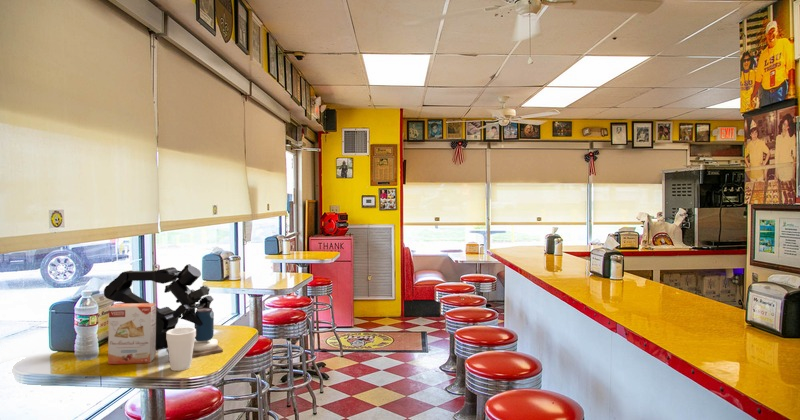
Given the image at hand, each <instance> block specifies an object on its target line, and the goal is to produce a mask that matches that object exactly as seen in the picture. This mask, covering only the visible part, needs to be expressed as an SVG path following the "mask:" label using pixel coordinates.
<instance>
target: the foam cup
mask: <svg viewBox="0 0 800 420" xmlns="http://www.w3.org/2000/svg"><path fill="white" fill-rule="evenodd" d="M195 337H196V329H195V327H190V326H185V327H182V326H181V327H175V329H171V330H169V331H167V333H166V340H167V344H168V347H167V350H168V351H167V352H168V358H169V365H170V370H172V371H175V372H177V371H178V372H179V371H180V372H181V371H186V370H188V369H190V368H191V365H192V359H193V358H192V354H193V347H194V341H195V340H196V339H195Z"/></svg>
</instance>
